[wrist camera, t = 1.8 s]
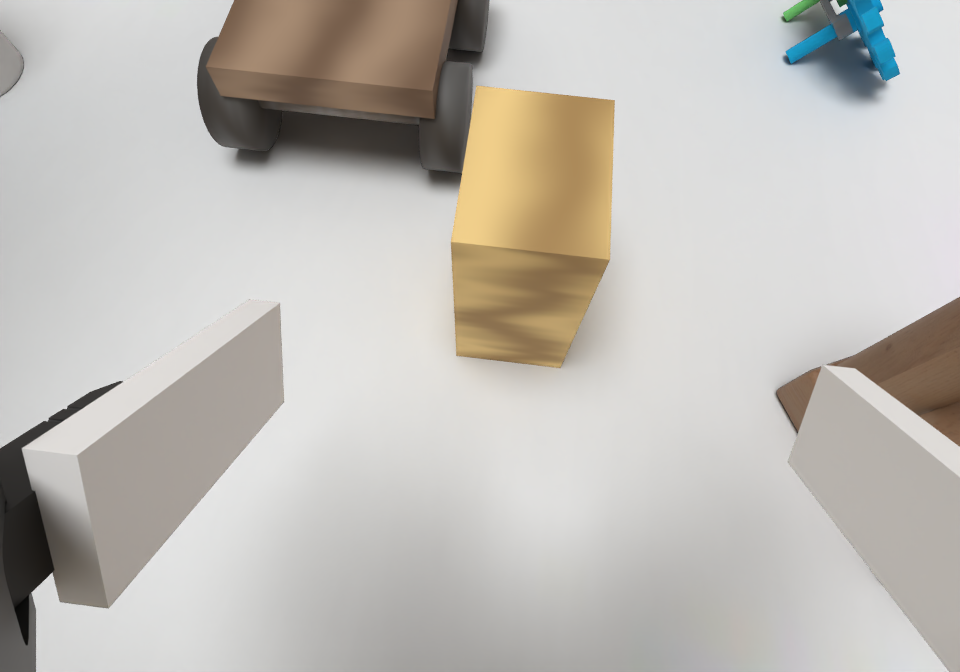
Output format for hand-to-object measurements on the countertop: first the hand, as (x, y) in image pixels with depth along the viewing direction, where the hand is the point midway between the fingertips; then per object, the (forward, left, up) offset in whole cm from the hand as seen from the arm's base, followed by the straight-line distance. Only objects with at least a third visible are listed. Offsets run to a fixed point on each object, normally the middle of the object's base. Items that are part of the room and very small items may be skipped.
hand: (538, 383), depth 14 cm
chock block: (0, +11, -17) cm, 20 cm away
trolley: (-12, +27, -17) cm, 34 cm away
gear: (+22, +35, -17) cm, 44 cm away
